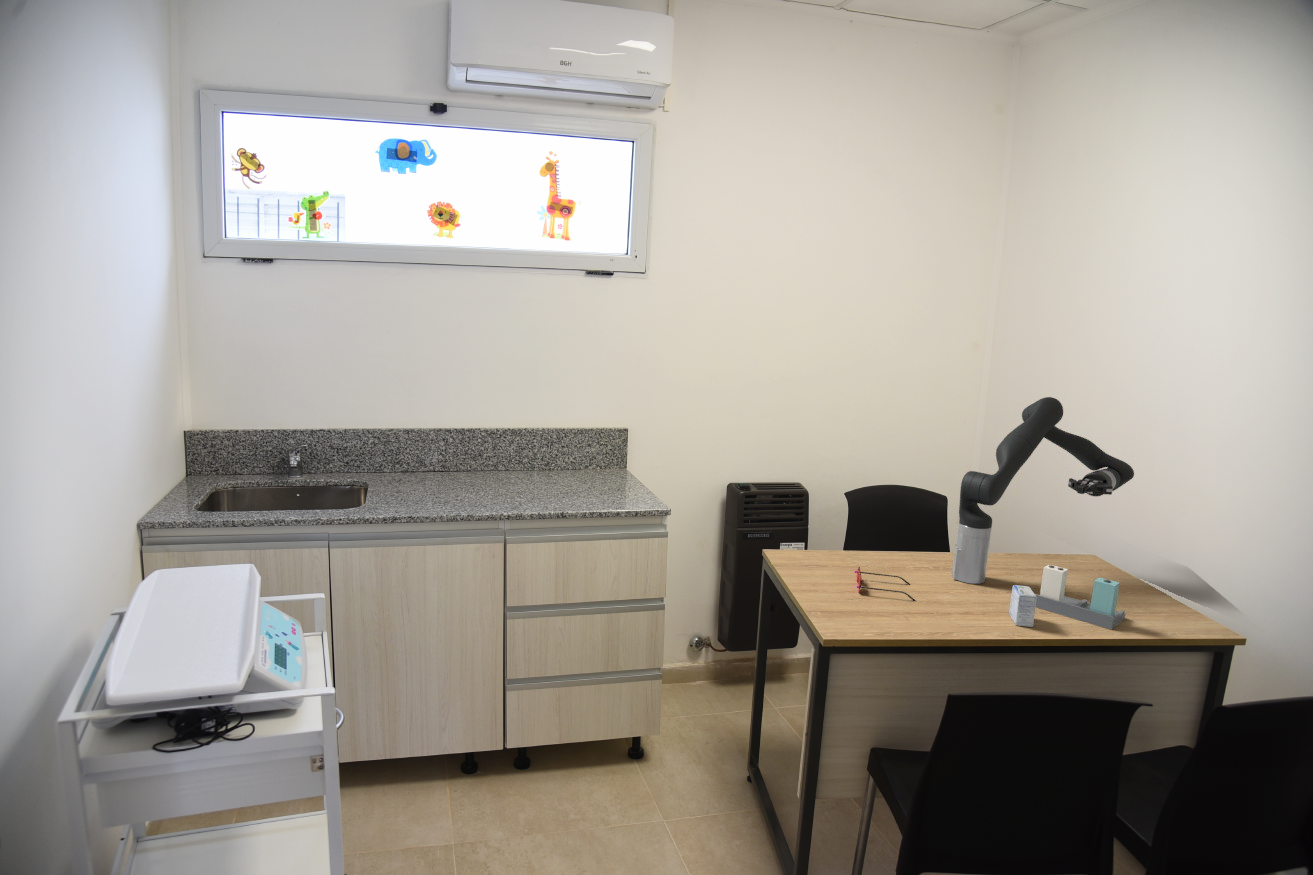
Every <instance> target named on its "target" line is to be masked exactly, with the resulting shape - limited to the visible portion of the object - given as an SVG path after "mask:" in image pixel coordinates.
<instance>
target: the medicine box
mask: <svg viewBox="0 0 1313 875" xmlns="http://www.w3.org/2000/svg"><path fill="white" fill-rule="evenodd" d="M1035 594H1036V593H1035V592H1034V591H1033V590H1032V588H1031V587H1030V586H1027V585H1017V584H1014V585H1012V588H1011V595H1010V604H1009V610H1008V611H1009V612H1008V614H1009V616H1010V617H1011V619H1012V622H1014V624H1015V626H1017V627H1019V626H1020V627H1025V628H1026V627H1027V628H1033V627H1034V620H1035V615H1036V599H1037V597H1036V595H1035Z"/></svg>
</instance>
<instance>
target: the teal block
mask: <svg viewBox="0 0 1313 875" xmlns="http://www.w3.org/2000/svg"><path fill="white" fill-rule="evenodd" d="M1119 590H1120V582H1118V581H1115V580H1111V579H1106V578H1103V577H1098V578H1096V579H1095V580H1093V588H1092V594H1091V595H1092V596H1091V599H1090V600H1091V602H1090V603H1091V607H1090V610H1092V611H1096V612H1099V613H1103V614H1106V615H1110V616H1113V617H1114V615H1115V610H1116V609H1117V602H1118V598H1119V597H1118V595H1119Z"/></svg>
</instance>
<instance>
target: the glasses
mask: <svg viewBox="0 0 1313 875" xmlns="http://www.w3.org/2000/svg"><path fill="white" fill-rule="evenodd" d="M854 573H855V574H856V582H857V585H856V588H857V589H858V594H860V592H861V589H867V590H874V591H875V590H876V591H883V592H893V593H900V594H904V595H906V596H907V597H908V598H909V599H910V600H911V601H912V602H917V600H916V599H914V597H912V596H911V595H910V594H908V593H907V592H905V591H900V590H895V589H894V590H892V589H885V588H876V587H867V586H862V585H863V584H862V583H863V581H862V574H864V575H875V576H884V577H890V578H891V577H892V578H893V577H894V578H899V580H902V581H903V582H904V583H906V584H907V585H908V586H911V584H912V583H910V582H908V581H907V580H905V579H904V578H903V577H901V576H898V575H892V574H891V575H890V574H883V573H875V572H865V571H861V567H860V566H858V568H857V570H854Z"/></svg>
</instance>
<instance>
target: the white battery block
mask: <svg viewBox="0 0 1313 875" xmlns="http://www.w3.org/2000/svg"><path fill="white" fill-rule="evenodd" d="M1068 571H1069V569H1068V568H1065V567H1061V566H1056V565H1053V564H1052V565H1051V564H1047V565H1046V566H1044V567H1043V571H1042V577H1041V585H1040V590H1039V595H1040V596H1044V597H1047V598H1051V599H1054V600H1057V601H1061V602H1063V599H1064V596H1065V592H1066V585H1067V578H1068Z"/></svg>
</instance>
